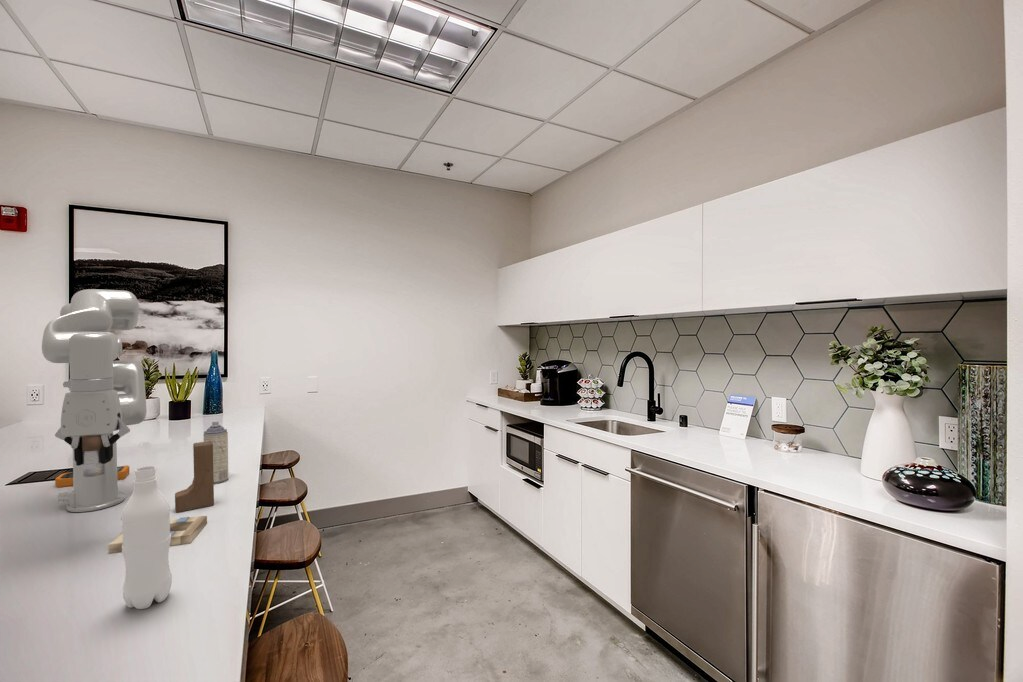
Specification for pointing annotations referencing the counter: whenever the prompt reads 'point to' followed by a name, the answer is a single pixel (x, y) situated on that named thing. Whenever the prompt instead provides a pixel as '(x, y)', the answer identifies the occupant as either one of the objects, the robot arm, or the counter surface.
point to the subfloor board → (182, 537)
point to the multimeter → (67, 478)
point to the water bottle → (146, 542)
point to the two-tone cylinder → (92, 456)
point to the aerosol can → (218, 451)
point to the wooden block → (198, 480)
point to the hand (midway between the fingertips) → (94, 462)
